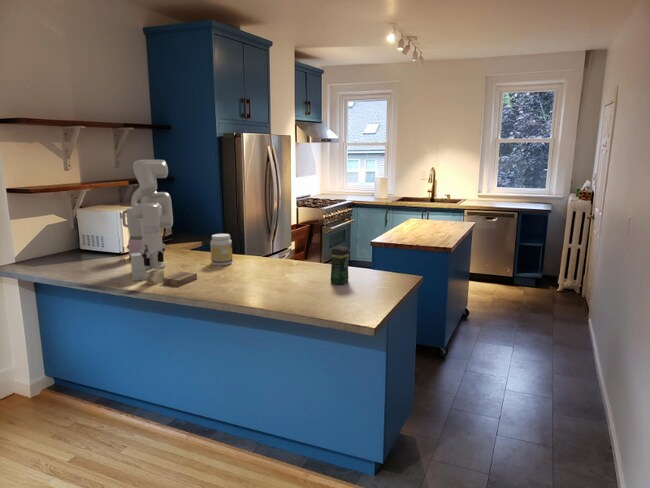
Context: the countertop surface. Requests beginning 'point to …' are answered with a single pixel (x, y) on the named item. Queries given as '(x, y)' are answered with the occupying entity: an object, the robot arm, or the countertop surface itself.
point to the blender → (133, 231)
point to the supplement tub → (221, 249)
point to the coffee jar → (339, 265)
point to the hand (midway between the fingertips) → (154, 263)
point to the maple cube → (154, 276)
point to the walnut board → (179, 278)
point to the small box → (138, 267)
